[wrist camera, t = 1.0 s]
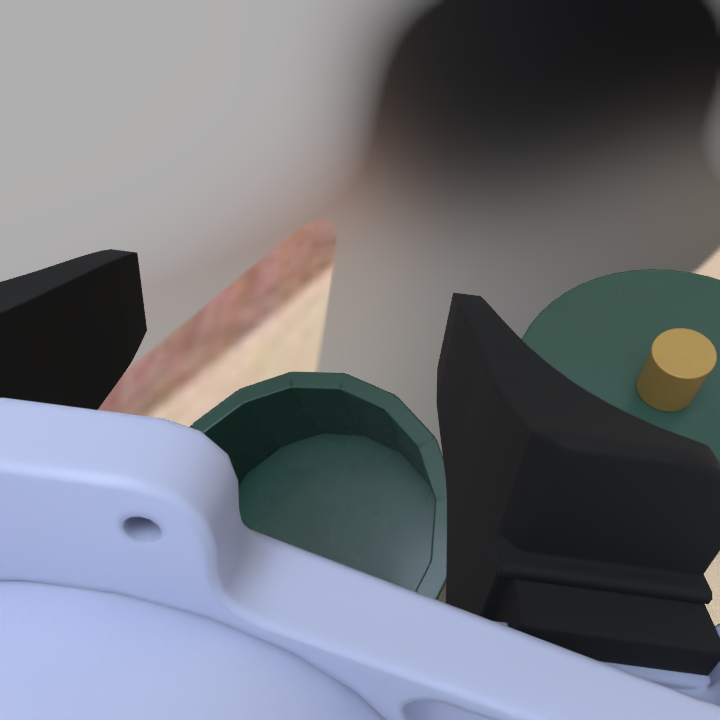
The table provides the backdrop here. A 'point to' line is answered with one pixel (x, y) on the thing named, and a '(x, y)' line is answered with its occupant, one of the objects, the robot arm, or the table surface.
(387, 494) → the tin
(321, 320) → the table surface
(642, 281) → the lid
